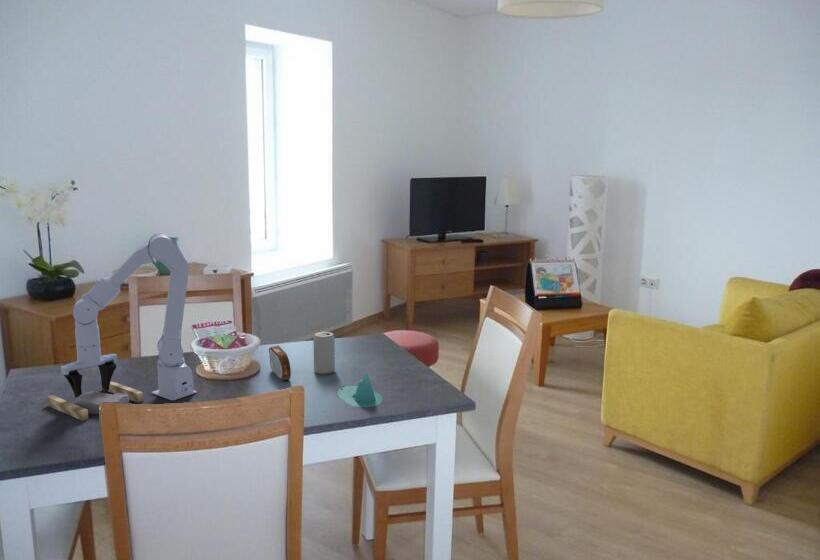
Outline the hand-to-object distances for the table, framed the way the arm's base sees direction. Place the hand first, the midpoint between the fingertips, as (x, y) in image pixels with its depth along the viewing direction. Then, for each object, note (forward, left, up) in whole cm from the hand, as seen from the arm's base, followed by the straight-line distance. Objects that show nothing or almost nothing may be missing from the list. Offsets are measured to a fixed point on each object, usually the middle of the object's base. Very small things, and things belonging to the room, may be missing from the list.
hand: (92, 393), depth 185 cm
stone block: (-6, 0, -3) cm, 6 cm away
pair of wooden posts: (-1, 0, -2) cm, 3 cm away
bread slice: (-24, -45, -3) cm, 51 cm away
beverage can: (-32, -56, -3) cm, 65 cm away
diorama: (-53, -47, -3) cm, 71 cm away
